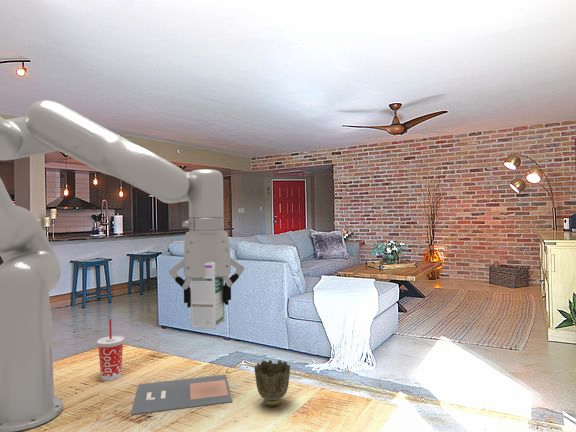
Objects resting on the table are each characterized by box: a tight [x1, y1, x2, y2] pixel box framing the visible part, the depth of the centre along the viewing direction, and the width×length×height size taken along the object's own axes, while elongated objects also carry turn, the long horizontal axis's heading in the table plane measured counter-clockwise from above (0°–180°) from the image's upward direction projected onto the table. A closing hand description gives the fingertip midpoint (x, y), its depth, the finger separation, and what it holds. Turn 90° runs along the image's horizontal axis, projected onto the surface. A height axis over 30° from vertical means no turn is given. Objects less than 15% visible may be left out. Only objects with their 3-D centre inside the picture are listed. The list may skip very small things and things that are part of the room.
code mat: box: [130, 374, 233, 416], centre depth 90 cm, size 20×14×1 cm
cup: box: [253, 359, 291, 408], centre depth 85 cm, size 8×7×8 cm
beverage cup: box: [96, 318, 125, 381], centre depth 99 cm, size 6×6×14 cm
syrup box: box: [189, 262, 225, 330], centre depth 91 cm, size 6×6×14 cm
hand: (207, 304), depth 91 cm, fingers closed on syrup box, 7 cm apart
